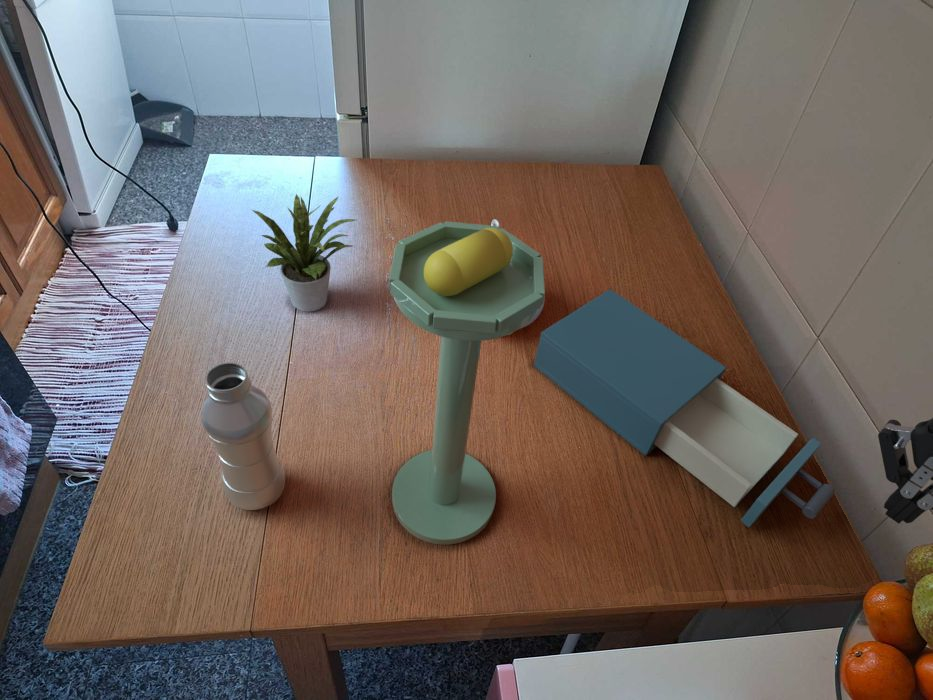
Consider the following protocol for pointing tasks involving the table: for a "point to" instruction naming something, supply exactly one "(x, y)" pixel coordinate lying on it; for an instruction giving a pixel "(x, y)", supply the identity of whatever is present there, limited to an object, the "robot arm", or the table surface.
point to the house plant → (304, 255)
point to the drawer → (738, 450)
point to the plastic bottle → (242, 437)
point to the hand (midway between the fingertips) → (895, 514)
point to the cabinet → (624, 367)
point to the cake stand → (456, 378)
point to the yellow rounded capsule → (468, 261)
